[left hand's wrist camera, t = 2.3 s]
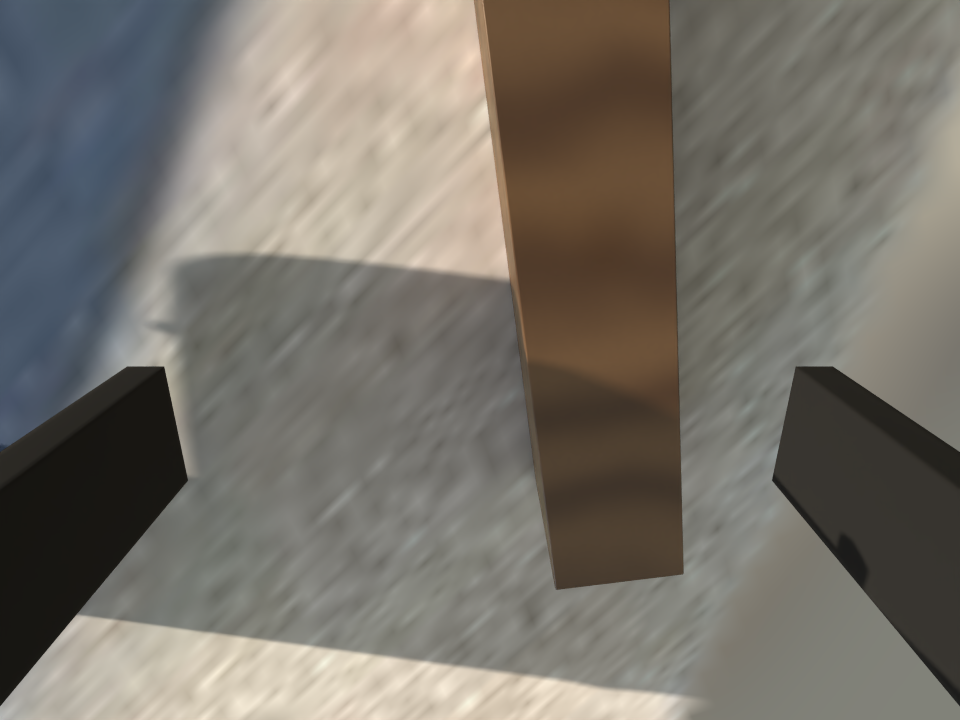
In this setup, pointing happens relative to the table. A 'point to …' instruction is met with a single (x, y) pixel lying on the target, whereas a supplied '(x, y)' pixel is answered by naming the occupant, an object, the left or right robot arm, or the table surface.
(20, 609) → the left robot arm
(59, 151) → the table surface
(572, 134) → the beam
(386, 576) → the table surface
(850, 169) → the table surface
